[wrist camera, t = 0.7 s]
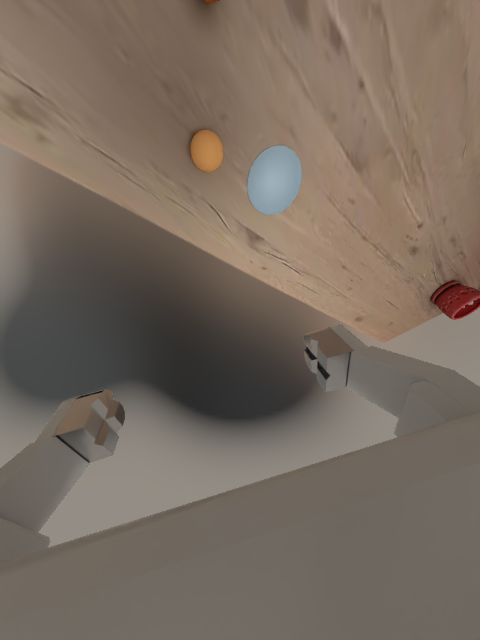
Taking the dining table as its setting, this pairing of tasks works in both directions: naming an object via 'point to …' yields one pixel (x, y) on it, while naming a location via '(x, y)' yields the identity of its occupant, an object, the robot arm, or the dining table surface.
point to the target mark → (274, 179)
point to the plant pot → (456, 300)
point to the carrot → (210, 1)
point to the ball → (206, 150)
